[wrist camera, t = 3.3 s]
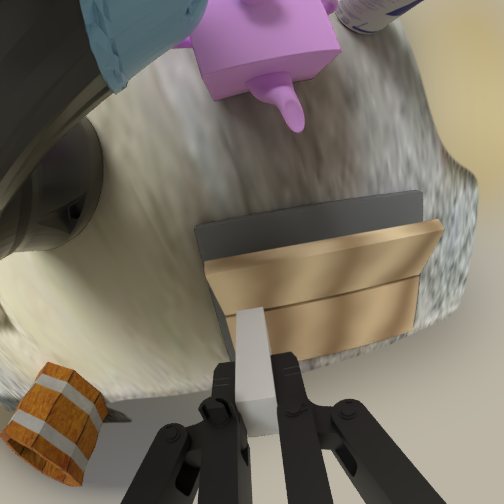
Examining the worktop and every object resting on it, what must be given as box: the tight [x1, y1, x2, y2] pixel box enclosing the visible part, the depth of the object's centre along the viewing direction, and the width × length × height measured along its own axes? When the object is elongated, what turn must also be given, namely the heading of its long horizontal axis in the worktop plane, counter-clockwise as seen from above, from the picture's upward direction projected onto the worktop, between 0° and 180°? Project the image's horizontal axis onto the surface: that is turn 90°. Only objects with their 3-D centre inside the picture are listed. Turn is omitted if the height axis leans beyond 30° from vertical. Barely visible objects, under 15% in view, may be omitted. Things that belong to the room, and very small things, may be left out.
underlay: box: [194, 190, 423, 362], centre depth 27 cm, size 22×16×1 cm
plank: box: [204, 219, 445, 315], centre depth 23 cm, size 20×7×1 cm
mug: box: [0, 362, 109, 486], centre depth 26 cm, size 20×14×15 cm
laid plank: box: [226, 275, 419, 361], centre depth 27 cm, size 20×7×1 cm, turn 100°
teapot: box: [171, 0, 342, 133], centre depth 15 cm, size 18×14×10 cm
